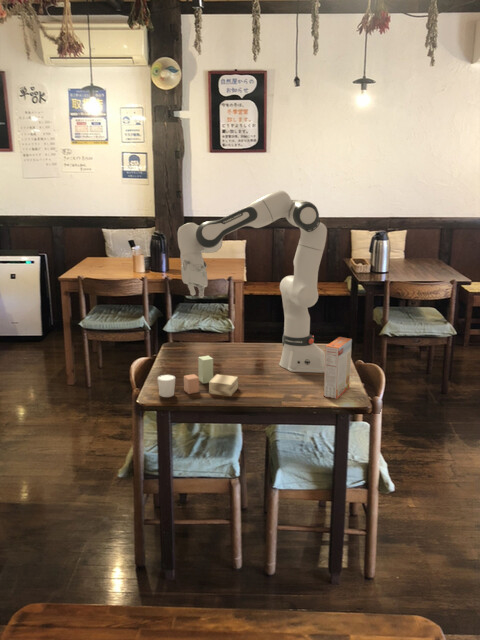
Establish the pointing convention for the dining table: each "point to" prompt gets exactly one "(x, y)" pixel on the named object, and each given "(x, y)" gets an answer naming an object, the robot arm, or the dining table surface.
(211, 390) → the beech base
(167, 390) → the shot glass
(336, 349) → the cracker box
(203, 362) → the sage block
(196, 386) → the terracotta block
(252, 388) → the dining table surface
